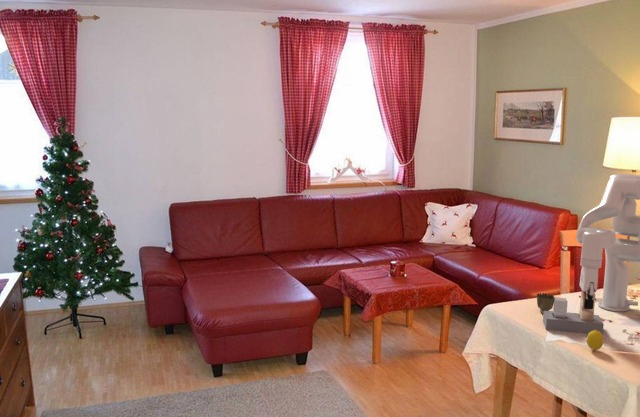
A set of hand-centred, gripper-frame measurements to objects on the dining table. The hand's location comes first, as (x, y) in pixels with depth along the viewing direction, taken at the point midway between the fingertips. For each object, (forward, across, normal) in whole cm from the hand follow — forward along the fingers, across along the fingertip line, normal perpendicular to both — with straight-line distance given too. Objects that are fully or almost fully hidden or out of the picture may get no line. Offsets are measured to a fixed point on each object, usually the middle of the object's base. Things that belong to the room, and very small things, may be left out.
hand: (587, 306), depth 234 cm
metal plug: (+10, 0, -10) cm, 14 cm away
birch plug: (+6, 0, 0) cm, 6 cm away
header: (+10, 0, -5) cm, 11 cm away
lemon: (+10, +21, 0) cm, 23 cm away
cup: (+10, -17, -14) cm, 24 cm away
